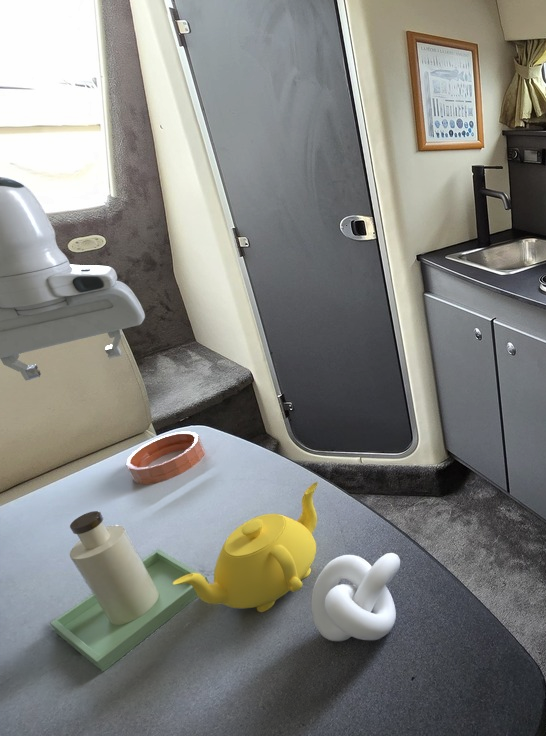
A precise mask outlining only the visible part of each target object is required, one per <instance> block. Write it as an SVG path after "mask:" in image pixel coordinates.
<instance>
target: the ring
mask: <svg viewBox="0 0 546 736" xmlns="http://www.w3.org/2000/svg"><path fill="white" fill-rule="evenodd" d="M179 451H183V452H182V453H180V454H178V455H177V456H175V457H173V458H171V459H169V460H166V461H163V462H161V463H157V464H154V465H151V464H152V463H153V462H155V461H157V460H158V459H160V458H162V457H164V456H166V455H169V454H171V453H175V452H179ZM204 455H205V447H204V444H203V443H202V440H201V438H200V435H199V434H197V432H194V431H178V432H173V433H170V434H169V433H168V434H166V435H163V436H160V437H158V438H155V439H153V440H151V441H149V442H147V443H145V444H143V445H142V446H140V447H139V448H137V449H136V450H134V451H132V453H131V454H130V455H129V456H128V458H127V459H126V462H125V466H126V468H127V470H128V472H129V475H130V476H131V478H132V480H133V481H134V483H136V484H140V485H152V484H158V483H161V482H165V481H168V480H170V479H173V478H175V477H177V476H180V475H182V474H183V473H185V472H187V471H188V470H190V469H192V468H193V467H194V466H195V465H196V464H198V463H199V462H200V461H201V460H202V458H203V457H204Z"/></svg>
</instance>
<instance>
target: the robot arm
mask: <svg viewBox="0 0 546 736" xmlns="http://www.w3.org/2000/svg"><path fill="white" fill-rule="evenodd" d="M56 240H57V239H56V231H55V228H54V227H53V225H52V223H51V220H50V219H49V217H48V215H47V213H46V212H45V210H44V208H43V207H42V205H41V203H40V201H39V200H38V199H37V196H36V195H34V193H33V192H32V191H31V189H29V188H28V186H27V185H26V184H24V183H22V182H21V181H19V180H16V179H12V178H8V177H3V176H0V361H1V362H2V364H3V365H4V366H6V367H8V368H10V369H12V370H13V371H17V372H18V373H20V374H21V376H22V377H23V379H24V380H25V381H30V380H34V379H38V378H40V377H41V375H42V373H41V370H40V369H38V365H37V364H36V363H34V364H29V365H28V364H27V363H25V362H23V361H22V360H19V357H20V355H21V354H24V353H25V354H26V353H28V352H29V353H30V352H33V351H37V350H41V349H45V348H49V347H54V346H58V345H62V344H67V343H70V342H76V341H78V340H82V339H87V338H91V337H95V336H99V335H103V334H104V335H105V334H107V335H108V337H109V339H113V340H112V343H111V344H110V345H106V346H105V349H104V351H105V353H106V354H107V357H108V359H109V360H110V359H113V358H117V357H122V350H121V348H120V341H121V338H122V335H123V330H124V329H128V328H129V329H130V328H132V327H137V326H140V325H142V323H143V322H144V320H145V319H146V315H145V311H144V308H143V307H142V304H141V303H140V301H139V299H138V297H137V296H136V295H135V293H134V292H133V290H132V289H131V288H130V287H129V286H128V285H127V284H126V283H124V282H123V281H120V280H118V275H117V272H116V270H115V269H114V267H112V266H107V265H84V264H83V265H82V264H81V265H80V264H71V263H70V261H69V259H68V257H67V256H66V254H65V253H64V252H63V251H62V250H61V249H60V247H59V246H58V243H57V241H56Z"/></svg>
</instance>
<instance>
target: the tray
mask: <svg viewBox="0 0 546 736" xmlns="http://www.w3.org/2000/svg"><path fill="white" fill-rule="evenodd" d="M141 560H142V562H143V563H144V565H145V567H146V569H147V571H148V573H149V575H150V576H151V578H152V580H153V582H154V584H155V586H156V588H157V589H158V591H159V597H158V600H157V601H156V603H155V604H154V605H153V606H152V608H151V609H149V610H148V611H147V612H146V613H145V614H143V615H142V616H140V617H139V618H137V619H135V620H133V621H131V622H129V623H126V624H122V625H114V624H111V623H110V621H109V620H108V618H107V616H106V615H105V613H104V611H103V610H102V608H101V607H100V605H99V603H98V602H97V600H96V598H95V597H94V595H93V593H91V594H90V595H89V596H87V597H86V598H84V599H82V600H81V601H80V602H78V603H77V604H75V605H74V606H72V607H71V608H70V609H68V610H67V611H65V612H64V613H62V614H61V615H59V616H57V618H55V619H54V620H52V621H51V622H50V623H49V624H50V627H52V629H53V630H54V632H55V634H57V635H58V636H59V637H61V638H62V639H63V640H64V641H65V642H66V643H68V644H69V645H70V646H72V647H73V648H74V649H75V650H76V651H77V652H79V654H81V655H82V656H83V657H84V658H86V659H87V660H88V661H90V662H91V663H92V664H93V665H94V666H95V667H96V668H98V669H99V670H100V671H101V672H102V673H104V672H105V671H107V670H108V669H109V668H110V667H112V666H113V665H114V664H116V663H117V662H119V660H120V659H122V658H123V657H125V655H127V654H128V653H129V652H130V651H132V650H133V649H134V648H135V647H137V646H138V645H139V644H140V643H142V642H144V640H146V639H147V638H148V637H150V636H151V635H152V634H153V633H155V632H156V630H158V629H160V628H161V627H162V626H163V625H164V624H166V623H167V622H168V621H169V620H170V619H171V618H173V617H175V615H176V614H178V613H179V612H181V611H182V610H183V609H184V608H186V607H187V606H188V605H190V603H192V602H193V601H194V600H196V599H197V598H199V596H198V595H197V593H196V591H195V589H194V588H193V587H192V586H191V585H190V584H186V583H185V584H177V585H174V584H173V582H174V581H176V580H177V579H179V578H180V577H182V576H185V575H187V574H191V573H199V574H201V575H202V576H203V577H204V578H205V579H206V581H207V582H208V583H209V584H210V581H209V579H208V577H207V576H206V575H204V574H203V573H201V572H199V571H197V570H195V569H194V568H192V567H190V566H189V565H188V564H186V563H184V562H182V561H180V560H179V559H177V558H175V557H174V556H172V555H171V554H168V553H166V552H165V551H163V550H162V549H160V548H157V549H156V550H153V552H151V553H150V554H148V556H146V557H144V558H142V559H141Z"/></svg>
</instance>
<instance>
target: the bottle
mask: <svg viewBox="0 0 546 736" xmlns="http://www.w3.org/2000/svg"><path fill="white" fill-rule="evenodd" d="M69 528H70V531H72V533H73V534H74V535H76V536H77V537H78V539H79V541H78V542H77V543H75V544H74V545H73V547H72V548H71V550H70V552H69V558H70V559H71V561H72V562H73V564H74V566H75V567H76V570H77V571H78V572H79V574H80V575H81V578H82V579H83V581H84V583H85V584H86V586H87V587H88V588H89V590H90V592H91V594H93V595H94V597H95V598H96V600H97V602H98V603H99V605H100V607H101V608H102V610H103V611H104V613H105V615H106V616H107V618H108V620H109V621H110V623H111V624H114V625H122V624H126V623H129V622H131V621H133V620H135V619H137V618H139V617H140V616H142V615H143V614H145V613H146V612H147V611H148V610H149V609H151V608H152V606H153V605H154V604H155V603H156V601H157V600H158V597H159V591H158V589H157V588H156V586H155V584H154V582H153V580H152V578H151V576H150V575H149V573H148V571H147V569H146V567H145V565H144V563H143V562H142V560H143V559H142V558H141V556H140V554H139V552H138V551H137V549H136V547H135V545H134V543H133V541H132V539H131V537H130V535H129V534H128V532H127V530H126V527H124V526H123V525H120V524H114V525H113V524H112V525H109V526H106V525H105V523H104V517H103V515H102V513H101V511H99V510H93V511H88V512H86V513H84V514H82V515H80V516H78V517H77V518H75V519H74V520H73V521H72V522H71V523H70V524H69Z"/></svg>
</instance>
